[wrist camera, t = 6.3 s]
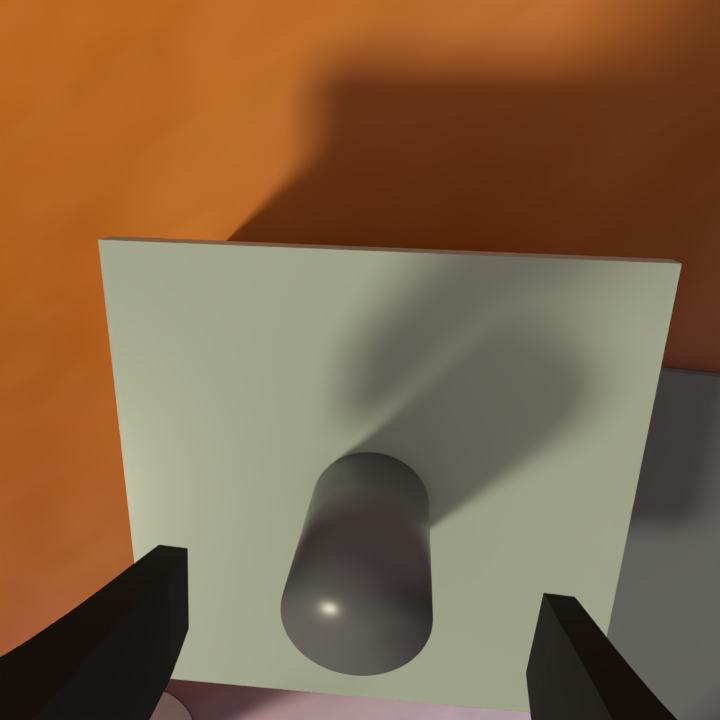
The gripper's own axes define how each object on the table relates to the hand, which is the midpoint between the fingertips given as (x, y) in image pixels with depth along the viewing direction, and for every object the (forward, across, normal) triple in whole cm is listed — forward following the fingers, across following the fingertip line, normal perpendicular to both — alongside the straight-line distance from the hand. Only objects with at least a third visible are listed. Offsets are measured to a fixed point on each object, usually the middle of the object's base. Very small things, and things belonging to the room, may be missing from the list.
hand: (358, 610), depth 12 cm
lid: (+4, 0, 0) cm, 4 cm away
